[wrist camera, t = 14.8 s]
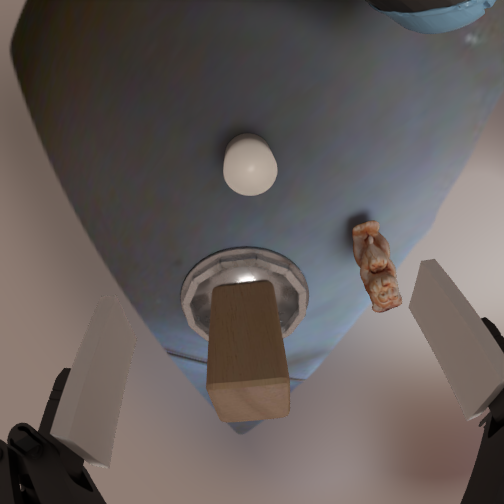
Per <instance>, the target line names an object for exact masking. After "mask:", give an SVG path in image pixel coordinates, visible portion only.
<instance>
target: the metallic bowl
mask: <svg viewBox="0 0 504 504" xmlns="http://www.w3.org/2000/svg"><path fill="white" fill-rule="evenodd" d="M261 281H270V282H271V283H272V284H273V286H274V290H275V296H276V302H277V308H278V313H279V319H280V325H281V331H282V337H283V338H285V337H287V336H289V335H290V334H292V332H293V331H294V330H295V329H296V327H297V326H298V325H299V323H300V322H301V321H302V319H303V318H304V317H305V315H306V309H307V306H308V301H309V290H308V286H307V282H306V280H305V277H304V275H303V274H302V272H301V270H300V269H299V268H298V267H297V266H296V265H295V264H294V263H293V262H292V261H291V260H289V259H288V258H286V257H285V256H283V255H281V254H279V253H277V252H274V251H271V250H268V249H264V248H258V247H235V248H229V249H225V250H222V251H218V252H216V253H214V254H211V255H209V256H208V257H206V258H204V259H203V260H201V261H200V262H199V263H197V264H196V265H195V266H194V267H193V268H192V269H191V271H190V272H189V274H188V275H187V277H186V279H185V281H184V283H183V287H182V291H181V306H182V310H183V312H184V315H185V317H186V318H187V321H188V324H189V326H190V328H192V329H193V330H194V331H195V332H197V333H198V334H199V335H200V336H202V337H203V338H204V339H205V340H207V341H208V342H209V327H210V312H211V297H212V291H213V288H214V287H217V286H224V285H234V284H243V283H252V282H261Z"/></svg>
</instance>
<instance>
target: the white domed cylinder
mask: <svg viewBox="0 0 504 504" xmlns="http://www.w3.org/2000/svg"><path fill="white" fill-rule="evenodd" d="M223 174H224V178H225V181H226V183H227V184H228V186H229V187H230V188H231V189H232V190H234V191H235V192H237V193H239V194H242V195H247V196H253V195H258V194H261V193H263V192H265V191H266V190H268V189H269V188H270V187H271V186H272V184H273V183H274V181H275V179H276V176H277V164H276V161H275V159H274V156H273V154H272V152H271V150H270V148H269V146H268V144H267V142H266V141H265V140H264V139H263V138H261V137H260V136H258V135H255V134H251V133H245V134H241V135H238V136H236V137H234V138H233V139H232V140H231V141H230V142H229V144H228V145H227V147H226V151H225V159H224V168H223Z"/></svg>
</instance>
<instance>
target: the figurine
mask: <svg viewBox="0 0 504 504" xmlns="http://www.w3.org/2000/svg"><path fill="white" fill-rule="evenodd" d="M378 230H379V223H378V222H377V221H368V222H365V223H362V224H359V225H356V226H355V227H354V228H353V231H352V236H353V252H354V257H355V260H356V262H357V264H358V266H359V267H360V268H361V269H360V276H361V279H362V281H363V283H364V286H365V289H366V291H367V292H368V294H369V296H370V299H371V301H372V304H373V306H372V309H373V311H375V312H384V311H387V310H389V309H392V308H394V307H398V306H399V305H401V304H402V297H401V295H400V293H399V289H398V283H397V280H396V268H395V266H394V264H393V263H392V261H391V260H390V259H389V258H390V247H389V243H388V242H387V240H386V239H385V238H384V237H383V236H382V235H381V234H380V233H379V232H378Z"/></svg>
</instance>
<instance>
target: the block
mask: <svg viewBox="0 0 504 504" xmlns="http://www.w3.org/2000/svg"><path fill="white" fill-rule="evenodd" d="M206 389H207V391H208V394H209V396H210V398H211V401H212V403H213V405H214V408H215V410H216V412H217V414H218V417H219V419H220V420H221V421H223V422H241V421H254V420H264V419H274V418H282V417H285V416H288V414H289V411H290V379H289V373H288V367H287V361H286V355H285V349H284V343H283V337H282V331H281V325H280V319H279V313H278V308H277V302H276V296H275V290H274V286H273V284H272V283H271V282H270V281H261V282H252V283H243V284H234V285H224V286H217V287H214V288H213V291H212V297H211V312H210V327H209V344H208V362H207V382H206Z"/></svg>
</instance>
